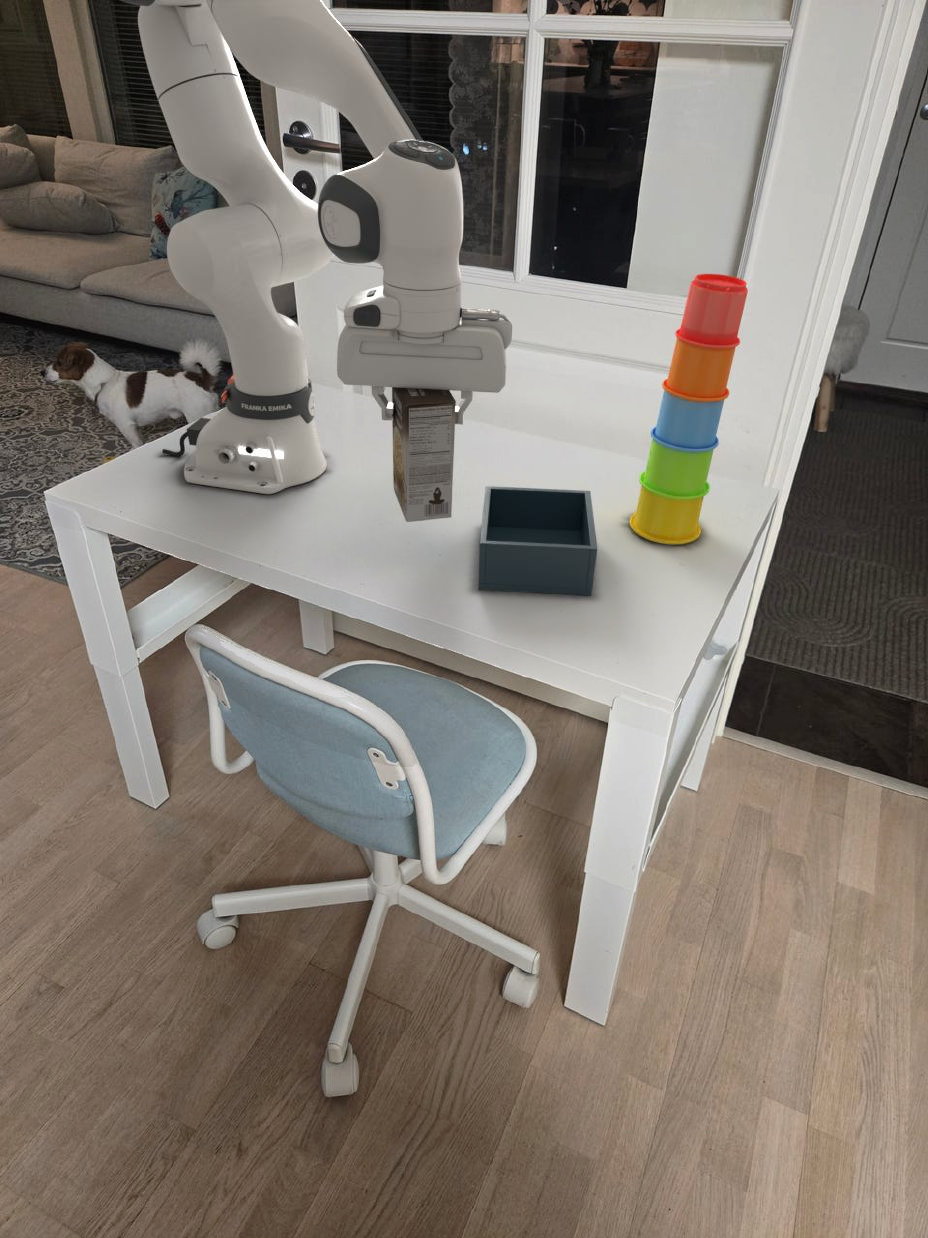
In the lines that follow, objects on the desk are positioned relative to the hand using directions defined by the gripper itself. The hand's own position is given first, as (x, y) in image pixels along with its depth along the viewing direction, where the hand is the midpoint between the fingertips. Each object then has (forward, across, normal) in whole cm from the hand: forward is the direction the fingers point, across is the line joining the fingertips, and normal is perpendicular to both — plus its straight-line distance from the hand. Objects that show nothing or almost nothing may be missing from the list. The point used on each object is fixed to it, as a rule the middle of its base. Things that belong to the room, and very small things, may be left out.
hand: (422, 420), depth 102 cm
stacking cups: (+19, -34, -10) cm, 41 cm away
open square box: (+19, -16, +1) cm, 25 cm away
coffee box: (+12, 0, 0) cm, 12 cm away
